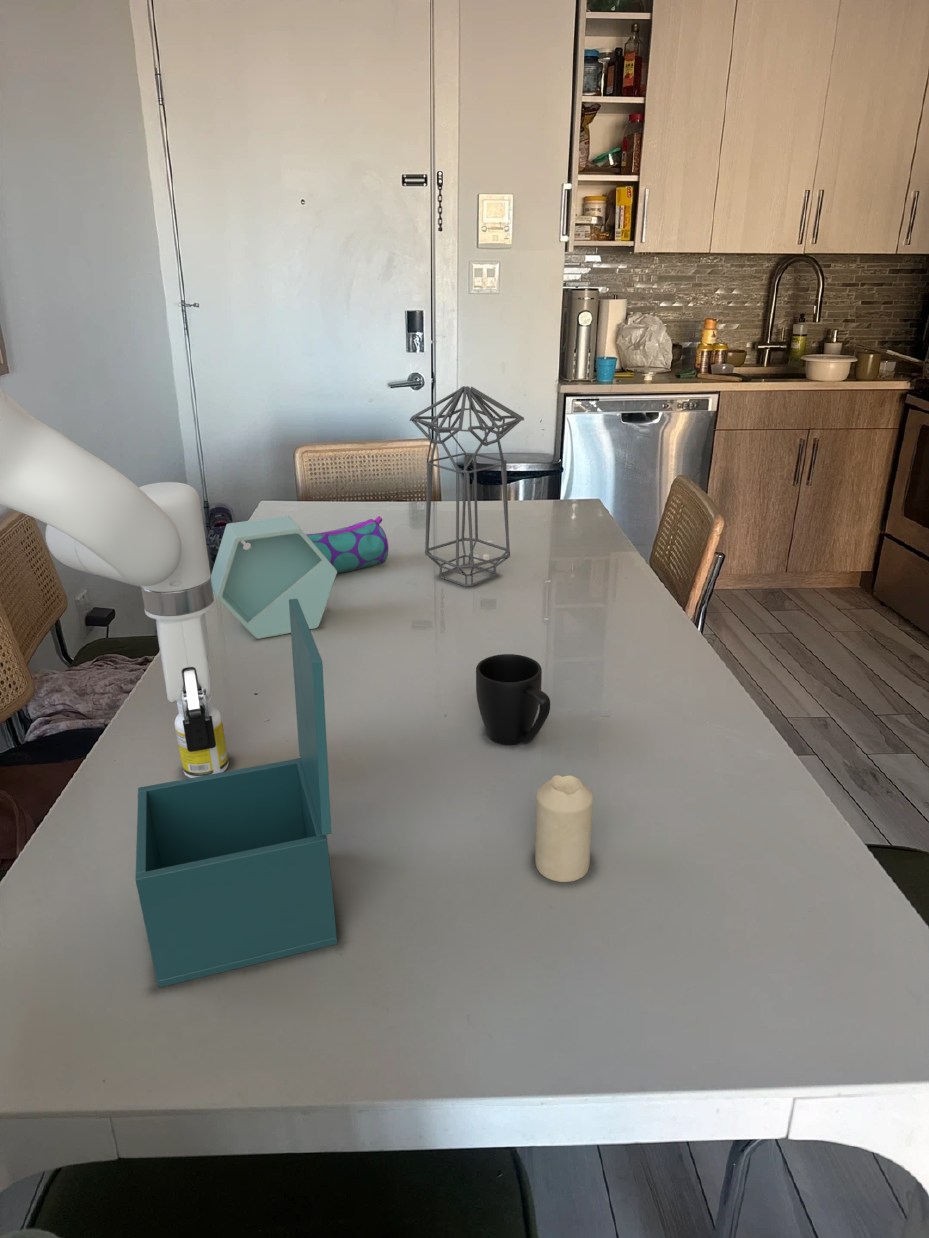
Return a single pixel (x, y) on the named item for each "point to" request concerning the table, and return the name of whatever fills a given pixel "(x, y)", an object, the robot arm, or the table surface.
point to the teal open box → (232, 871)
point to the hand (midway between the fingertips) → (200, 734)
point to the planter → (271, 575)
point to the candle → (563, 828)
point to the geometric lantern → (466, 472)
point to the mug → (511, 698)
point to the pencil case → (353, 545)
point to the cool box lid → (310, 713)
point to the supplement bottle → (207, 758)
